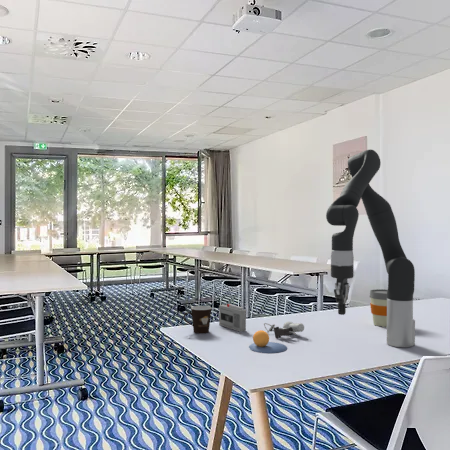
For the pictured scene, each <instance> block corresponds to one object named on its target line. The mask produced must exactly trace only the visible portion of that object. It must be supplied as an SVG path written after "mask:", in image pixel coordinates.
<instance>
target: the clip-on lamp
mask: <svg viewBox="0 0 450 450" xmlns="http://www.w3.org/2000/svg"><path fill="white" fill-rule="evenodd" d="M263 325H264V328H265V330H266V331H267V332H272V330H273V332H274V337H275V339H279V338H281V337H284V336H285V337H286V336H290V335H292V334H294V335H297V333H299V332H300V333H301V332H304V330H305V324H303V323H301V322H300V323H297V322H296V323H293V322H292V321H286V322H285V323H284V324H283V326H282V327H279V326H276V324H275V323H273V324H270V323H266V322H265V323H263ZM266 325H267V326H270V328H269V329H267V327H266Z"/></svg>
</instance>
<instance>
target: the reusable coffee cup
mask: <svg viewBox="0 0 450 450" xmlns="http://www.w3.org/2000/svg"><path fill="white" fill-rule="evenodd" d="M387 291H388V289H382V288H381V289H379V288H378V289H370V291H369V298H370V303H369V304H370V306H369V307H370V313H371V314H372V320H373V325H374V326H377V327H380V326H382V327H381V328H387Z"/></svg>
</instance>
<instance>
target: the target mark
mask: <svg viewBox="0 0 450 450" xmlns="http://www.w3.org/2000/svg"><path fill="white" fill-rule="evenodd" d="M248 348H250V349H249V350H250V351H253V352H255V353H256V352H257V353H261V352H262V354H277V353H283V352H286V351H287V349H288V346H287V345H285V344H283V343H279V342H273V341H269V342H268V344H267V345H266V346H264V347H259V346H257V345H256V344H255V343H254V342H253V343H251V344H249V346H248Z"/></svg>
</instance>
